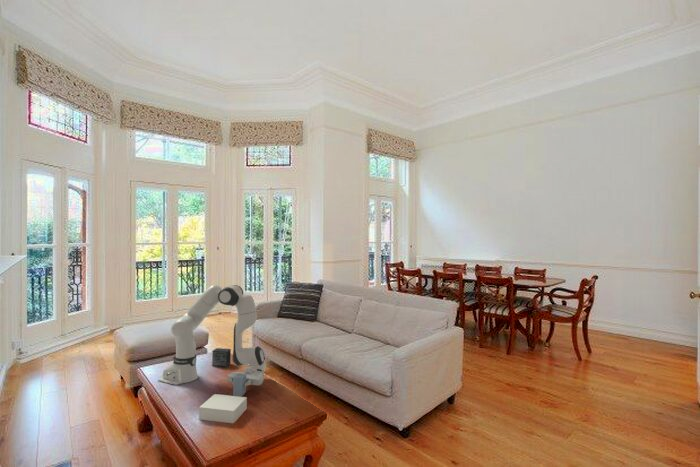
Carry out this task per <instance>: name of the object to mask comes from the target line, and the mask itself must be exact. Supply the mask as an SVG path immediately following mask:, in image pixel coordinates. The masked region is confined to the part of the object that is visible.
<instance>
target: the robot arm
mask: <svg viewBox="0 0 700 467" xmlns="http://www.w3.org/2000/svg"><path fill="white" fill-rule="evenodd" d="M219 303H220V304H222V305H224V306H232V307H236V311H237V322H236V323H235V324H234V327H233V347H232V348H233V350H232V356H231V358H232V362H233V364H234V365H235V366H237V367H241V366H245V365H248V366H247V367H245V368H244V369H243V370H242V372H241V371H234V372H233V371H232V372H231V373H229V374H228V375H227V378H226V381H227V383H232V386H233V382H234V377H235V376H236V375H237V374H246V382H244V384H243V386H245V387H246V388H247V386H261V385H262V384H264V380H265V370H266V368H267V363H266V360H265V352H264V350H263V349H262V348H261V347H260V346H257V345H256V346H249V347H243V333H244V332H245V331H246V330H247V329H249V328H251V327H253V325H255V323H256V322H257V320H258V312H257V307H256V304H255V300H254V298H253V296H252V295H251V294H244V290H243V288H242V287H241V286H240V285H237V284H235V285H234V284H233V285H228V286H226V287H221V286H220V285H218V284H213V285H210V286H209V287H208V288H207V289H206V290H204V292H202V293H201V294H200V295H199V296H198V298H197V299H195V301H194V302H193V303H192V304H191V306H190V308H189V309H188V310H187V312H185V314H184V315H181V317H179V318H178V319H176V320H175V321H174V323H173V324H172V325H171V327H170V331H171V333H172V335H173V336H174V340H175V355H174V356H173V357H172V358H171V361H172V362H171V363H170V364H168V366H166V367H165V368H164V369H163V372H162V375H160V376H159V377H158V380H157V381H158V382H160V383H166V384H171V385H174V386H177V385H181V384H186V383H190V382H194V381H196V380H197V379H198V377H199V375H198V369H197V350H196V349H197V342H196V340H195V338H194V331H195V330H197V328H198V327H199V326H200V324H202V322H203V321H204V320H205V318H206V317H207V316H208V315H209V313H210V312H211V311H212V310H213V309H214V308H216V306H217V305H218V304H219Z"/></svg>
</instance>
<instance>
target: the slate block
mask: <svg viewBox="0 0 700 467" xmlns="http://www.w3.org/2000/svg"><path fill="white" fill-rule="evenodd" d="M244 382H246V374H237V375H236V376H235V377H234V382H233V385H232V386H233V387H232V388H233V390H232V396H238V397H244V395H245V393H247V386H246V387H245V386H243V384H244Z"/></svg>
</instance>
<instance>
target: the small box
mask: <svg viewBox="0 0 700 467" xmlns="http://www.w3.org/2000/svg"><path fill="white" fill-rule="evenodd" d="M231 351H232V350H231V348H224V347H223V348H219V347H217V348H215V349H213V350H212V352H211V353H212V357H211V358H212V362H211V363H212V367H223V368H227V367H228V366H230V365H231V358H232V356H231V355H232V354H231V353H232V352H231Z"/></svg>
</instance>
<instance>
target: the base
mask: <svg viewBox="0 0 700 467" xmlns="http://www.w3.org/2000/svg"><path fill="white" fill-rule="evenodd" d="M247 399H248V398H247V396H234V395H226V394H219V393H218V394H216V393H214V394H213V395H212V396H210V397H209V398H208V399H207V400H206V401H205V402H203V403H202V404H201V405H200V406H199V408H198V420H202V421H210V422H217V423H218V422H219V423H228V424H235V422H236V421H237V420H238V419H239V418H240V417H241V416H242V415H243V413H245V411H246V410H247V408H248V407H247V404H248V402H247V401H248V400H247Z"/></svg>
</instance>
